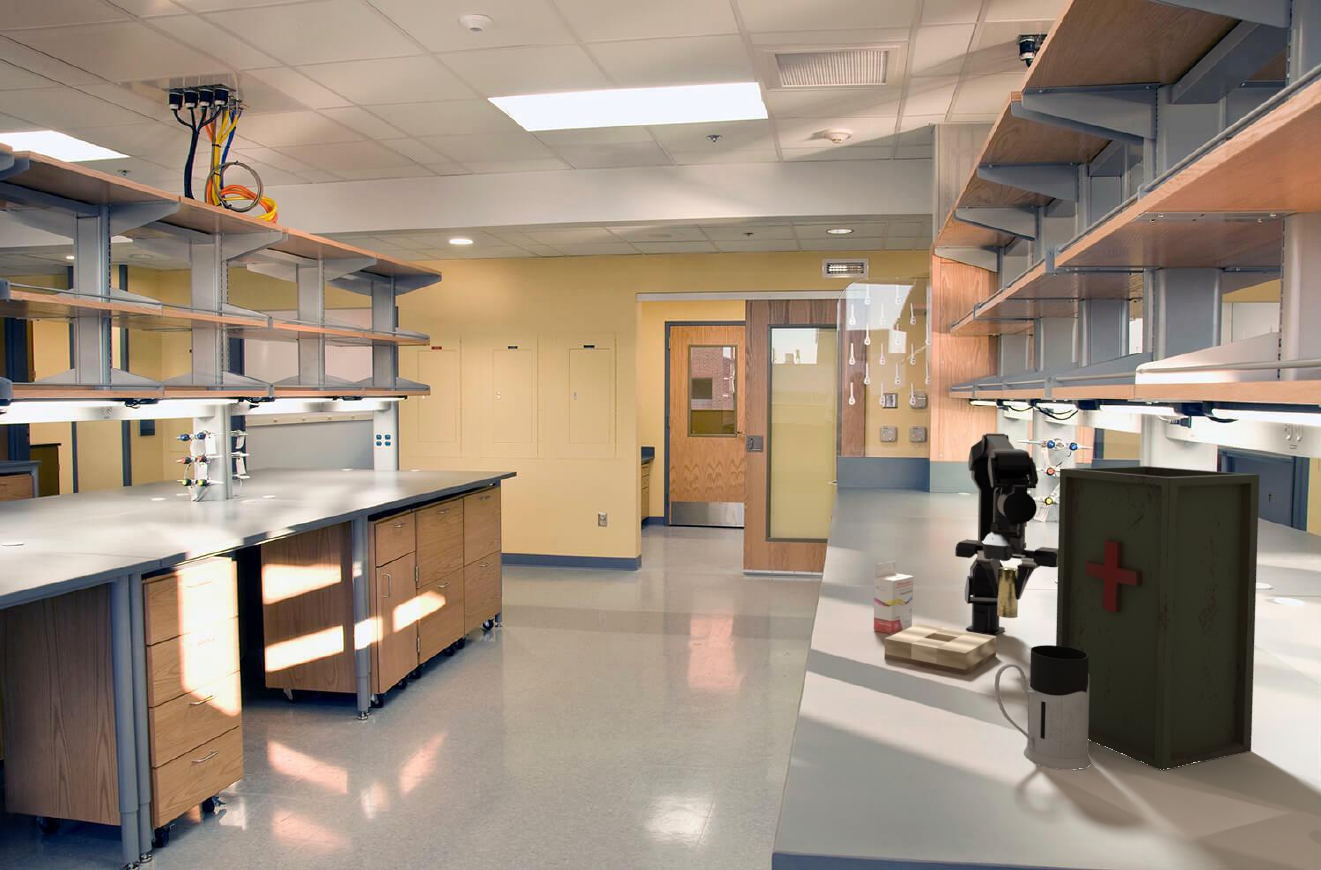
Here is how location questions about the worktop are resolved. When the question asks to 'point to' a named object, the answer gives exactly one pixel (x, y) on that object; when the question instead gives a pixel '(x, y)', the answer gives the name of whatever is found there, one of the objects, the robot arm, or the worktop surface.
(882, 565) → the ink cartridge box
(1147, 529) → the first aid box
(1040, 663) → the glass holder
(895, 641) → the bore block
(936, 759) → the worktop surface
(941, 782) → the worktop surface
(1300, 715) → the worktop surface
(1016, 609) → the pin
